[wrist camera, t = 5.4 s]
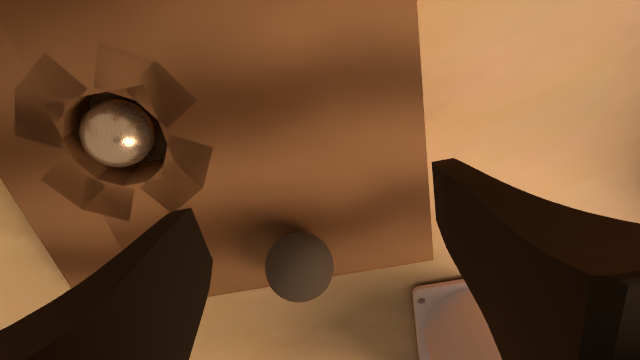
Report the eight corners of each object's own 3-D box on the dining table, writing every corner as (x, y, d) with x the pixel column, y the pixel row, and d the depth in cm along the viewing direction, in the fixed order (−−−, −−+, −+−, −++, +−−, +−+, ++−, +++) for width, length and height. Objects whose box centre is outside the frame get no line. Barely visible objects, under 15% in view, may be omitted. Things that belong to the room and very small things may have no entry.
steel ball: (134, 147, 22) (177, 148, 21) (84, 177, 20) (129, 182, 18) (108, 90, 21) (153, 88, 19) (50, 116, 18) (97, 115, 17)
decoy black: (336, 264, 22) (341, 311, 20) (276, 274, 23) (271, 322, 20) (325, 213, 21) (328, 256, 18) (260, 225, 21) (253, 268, 18)
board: (422, 233, 25) (433, 259, 23) (107, 285, 26) (89, 316, 24) (388, -197, 15) (402, -222, 13) (-107, -82, 16) (-171, -88, 14)
